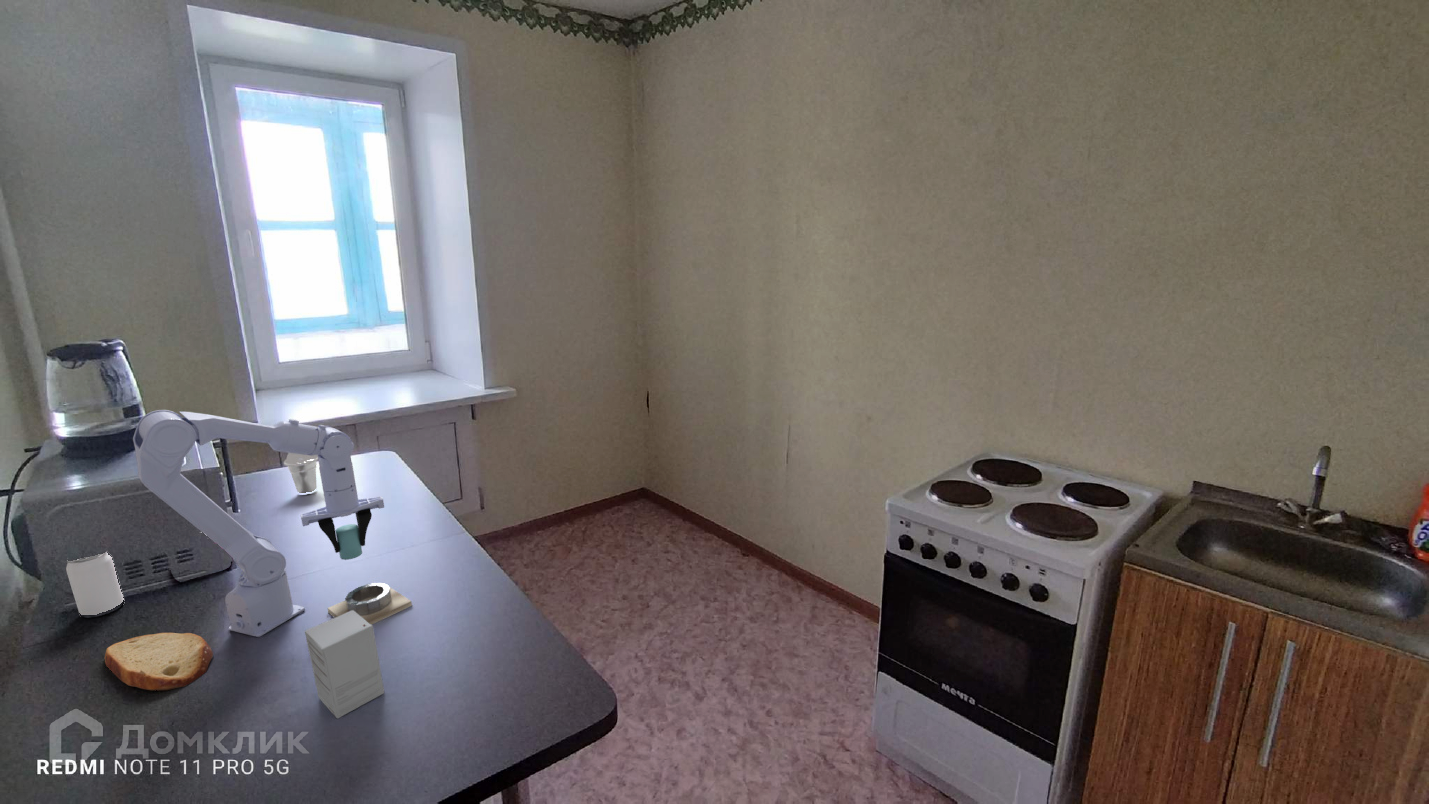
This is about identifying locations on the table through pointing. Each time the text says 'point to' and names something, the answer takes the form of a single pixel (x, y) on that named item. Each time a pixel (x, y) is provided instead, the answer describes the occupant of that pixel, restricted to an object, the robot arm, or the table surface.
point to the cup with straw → (302, 471)
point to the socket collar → (365, 592)
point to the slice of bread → (159, 660)
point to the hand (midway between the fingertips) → (350, 547)
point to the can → (94, 584)
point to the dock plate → (395, 606)
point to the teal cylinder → (349, 541)
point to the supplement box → (345, 662)
